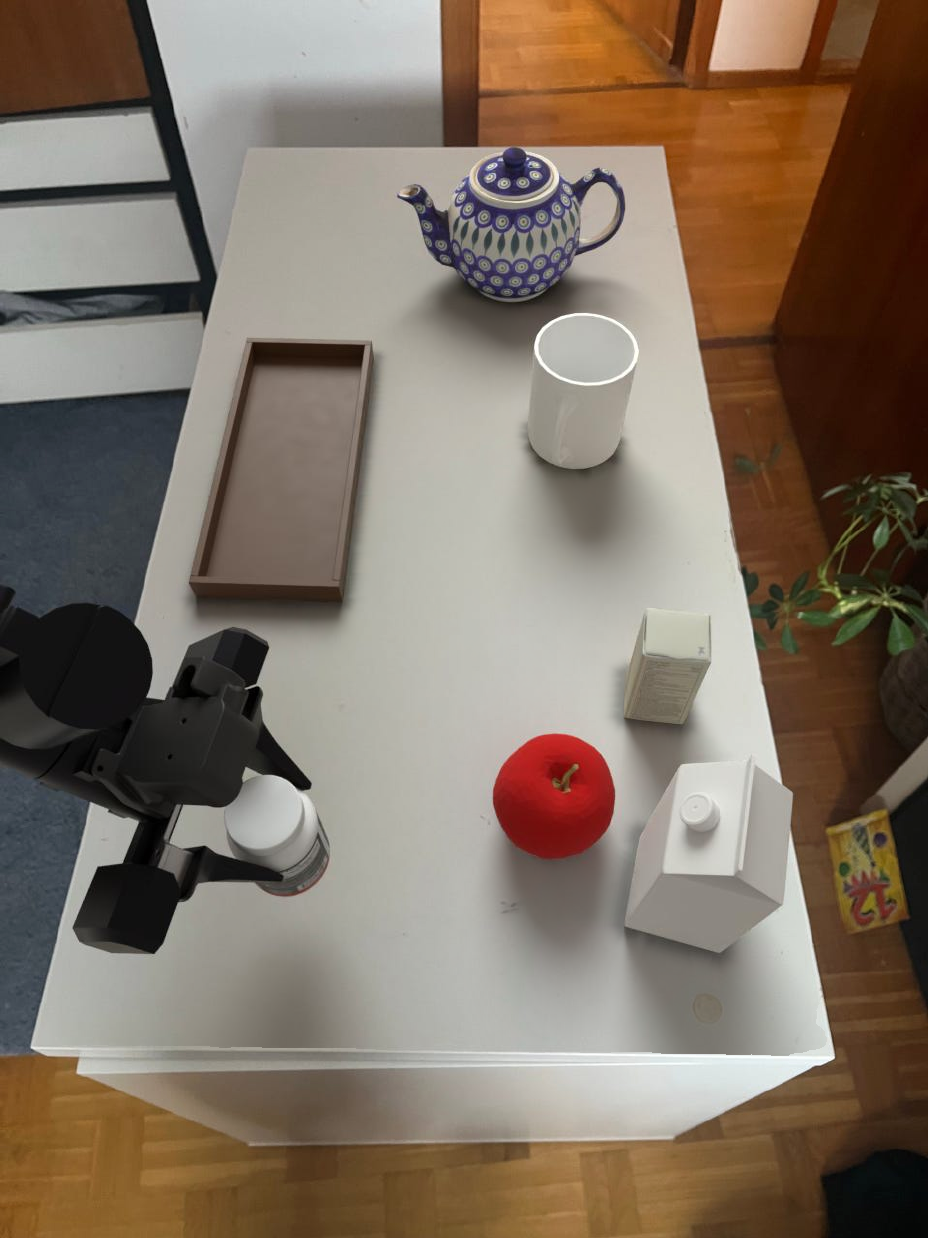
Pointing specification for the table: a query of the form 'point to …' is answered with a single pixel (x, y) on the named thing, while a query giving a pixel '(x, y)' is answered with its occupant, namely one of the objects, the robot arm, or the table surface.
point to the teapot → (512, 224)
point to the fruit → (554, 796)
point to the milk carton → (712, 855)
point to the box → (667, 665)
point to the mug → (580, 389)
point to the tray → (287, 473)
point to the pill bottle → (278, 833)
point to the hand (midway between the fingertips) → (294, 832)
